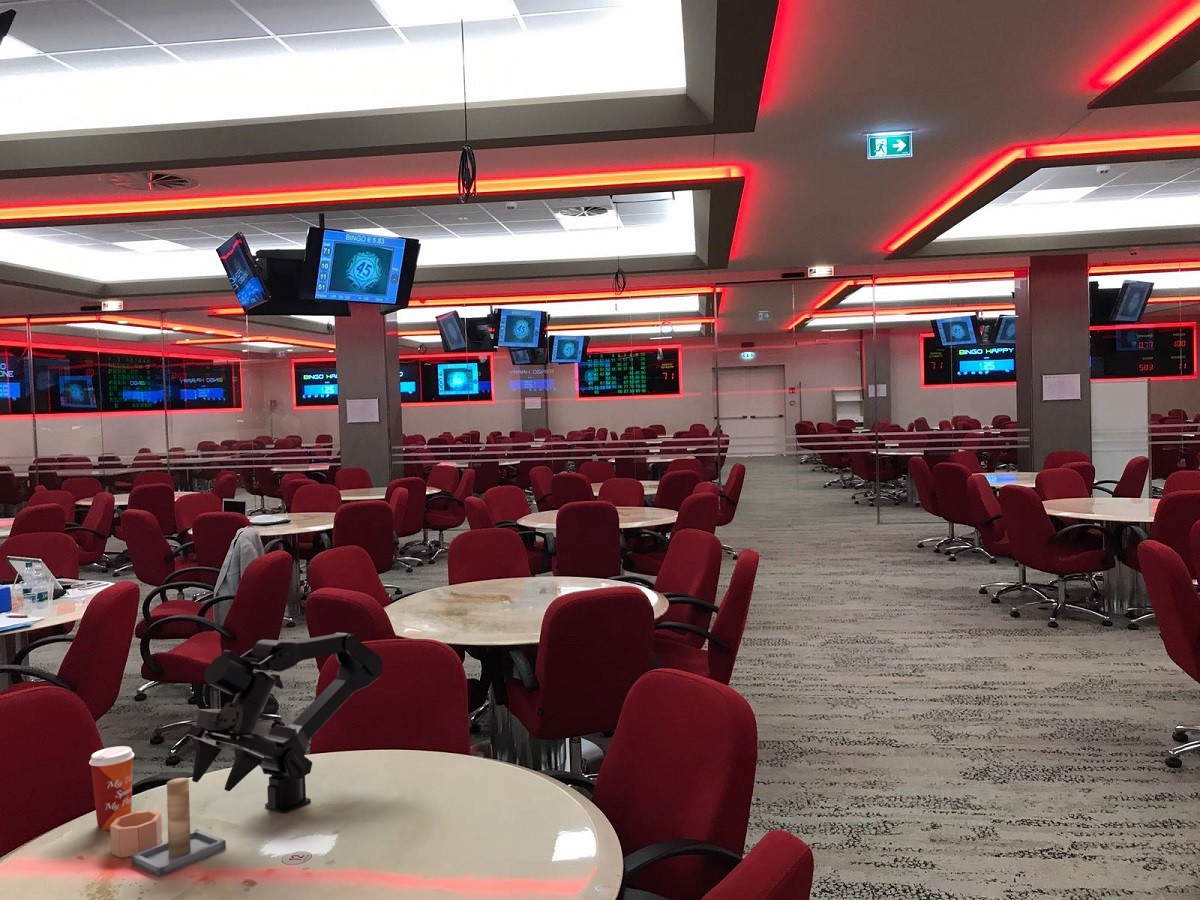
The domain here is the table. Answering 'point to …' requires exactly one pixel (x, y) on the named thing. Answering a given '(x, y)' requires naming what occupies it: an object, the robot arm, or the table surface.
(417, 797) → the table surface
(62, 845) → the table surface
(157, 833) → the pot
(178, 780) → the oak peg
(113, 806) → the paper cup
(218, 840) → the slate tray
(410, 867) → the table surface
